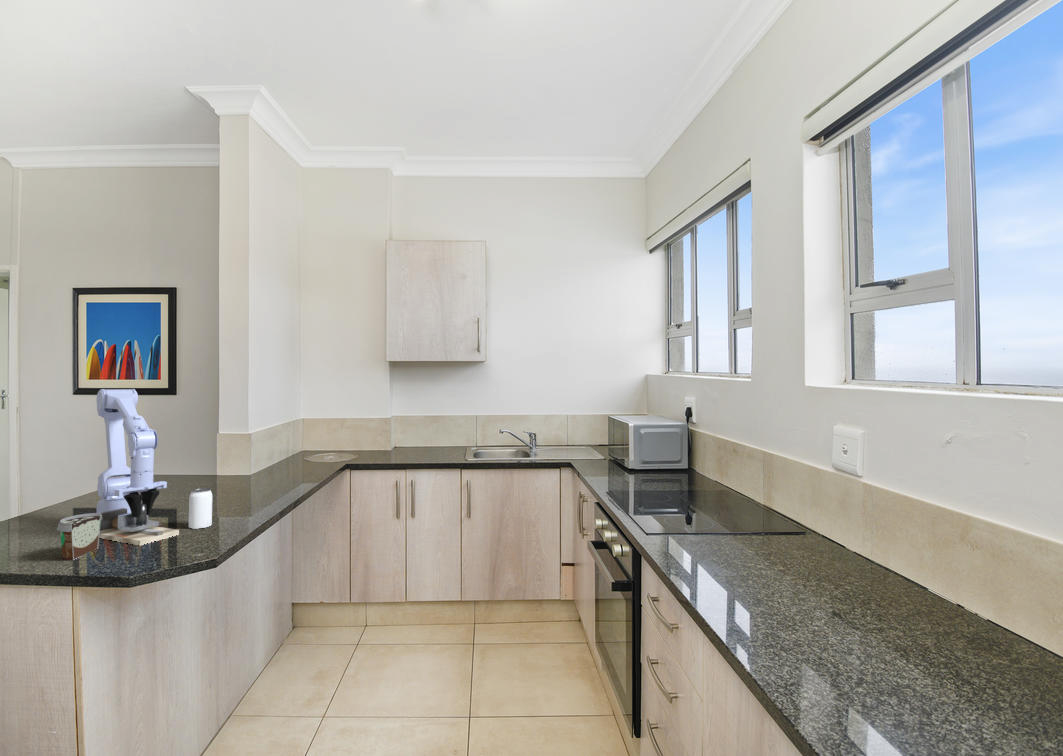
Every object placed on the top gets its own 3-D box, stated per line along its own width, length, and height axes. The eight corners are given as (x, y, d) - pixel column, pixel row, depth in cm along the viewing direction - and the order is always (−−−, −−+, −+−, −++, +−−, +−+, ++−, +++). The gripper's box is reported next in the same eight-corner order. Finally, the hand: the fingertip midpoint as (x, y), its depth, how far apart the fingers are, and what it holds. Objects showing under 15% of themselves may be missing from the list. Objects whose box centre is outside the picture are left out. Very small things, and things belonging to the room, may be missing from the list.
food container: (78, 547, 155) (79, 512, 155) (101, 547, 156) (102, 512, 156) (43, 562, 143) (44, 524, 143) (68, 562, 144) (69, 524, 144)
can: (200, 530, 175) (201, 492, 175) (183, 528, 176) (184, 491, 176) (216, 525, 181) (217, 488, 181) (199, 523, 182) (200, 487, 182)
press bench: (87, 536, 165) (88, 515, 165) (128, 527, 177) (128, 506, 177) (140, 545, 158) (140, 523, 158) (178, 534, 170) (179, 513, 170)
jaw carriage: (117, 529, 164) (118, 505, 164) (144, 523, 172) (144, 499, 172) (132, 531, 162) (133, 507, 162) (158, 525, 170) (159, 501, 170)
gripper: (127, 475, 158) (126, 523, 158) (174, 468, 172) (173, 511, 172) (109, 473, 161) (108, 520, 161) (158, 466, 174) (157, 509, 174)
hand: (141, 515), depth 166 cm, fingers closed on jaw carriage, 3 cm apart
